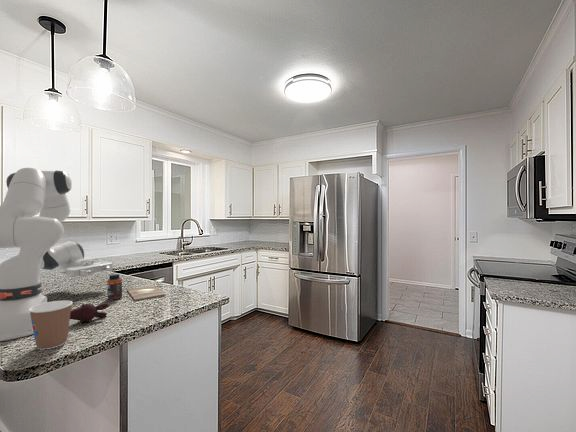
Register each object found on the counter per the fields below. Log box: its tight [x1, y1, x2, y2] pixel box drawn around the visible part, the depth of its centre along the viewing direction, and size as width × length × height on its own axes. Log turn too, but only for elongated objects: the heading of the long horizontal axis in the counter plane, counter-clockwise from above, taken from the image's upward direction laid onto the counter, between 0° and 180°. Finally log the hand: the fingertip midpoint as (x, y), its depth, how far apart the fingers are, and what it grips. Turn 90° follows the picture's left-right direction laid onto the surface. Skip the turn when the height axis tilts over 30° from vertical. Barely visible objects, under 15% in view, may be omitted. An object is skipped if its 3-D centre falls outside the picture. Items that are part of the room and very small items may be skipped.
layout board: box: [126, 284, 166, 302], centre depth 141 cm, size 22×13×1 cm, turn 38°
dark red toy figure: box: [70, 302, 109, 324], centre depth 104 cm, size 7×7×15 cm
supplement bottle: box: [106, 273, 123, 301], centre depth 133 cm, size 6×6×11 cm
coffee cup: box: [29, 299, 73, 351], centre depth 86 cm, size 10×10×12 cm
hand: (99, 270), depth 139 cm, fingers open, 8 cm apart
